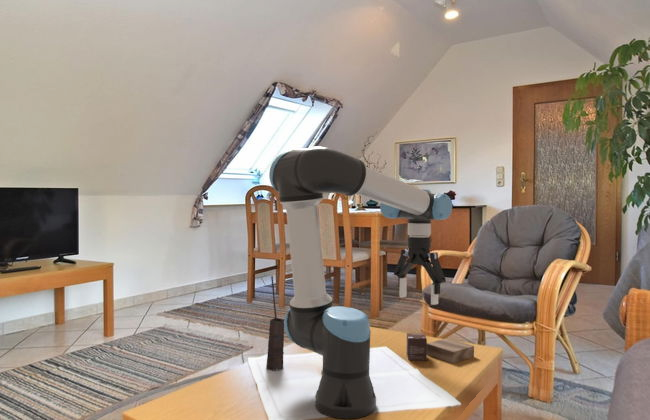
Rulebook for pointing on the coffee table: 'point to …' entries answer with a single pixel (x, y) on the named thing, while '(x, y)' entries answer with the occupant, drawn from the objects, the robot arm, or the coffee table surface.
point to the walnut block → (450, 350)
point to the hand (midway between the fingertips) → (418, 300)
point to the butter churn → (275, 341)
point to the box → (416, 346)
